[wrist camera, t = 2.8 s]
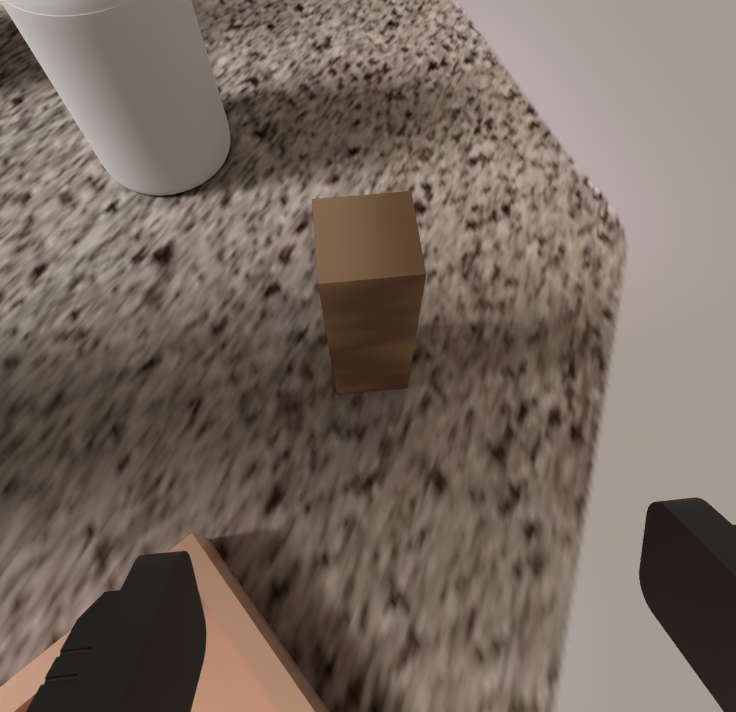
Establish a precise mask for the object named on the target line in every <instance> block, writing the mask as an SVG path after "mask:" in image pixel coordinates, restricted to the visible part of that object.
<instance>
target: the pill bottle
mask: <svg viewBox="0 0 736 712" xmlns="http://www.w3.org/2000/svg"><path fill="white" fill-rule="evenodd" d="M0 1H1V2H2V4H3V6H4V7H5V9H6V11H7V12H8V14H9V15H10V17H11V19H12V20H13V22H14V23H15V25H16V27H17V28H18V30H19V31H20V33H21V35H22V36H23V38H24V39H25V41H26V43H27V44H28V46H29V47H30V49H31V51H32V52H33V54H34V55H35V57H36V59H37V60H38V62H39V64H40V65H41V67H42V68H43V70H44V72H45V73H46V75H47V76H48V78H49V80H50V81H51V83H52V84H53V86H54V88H55V89H56V91H57V92H58V94H59V96H60V97H61V99H62V100H63V102H64V104H65V105H66V107H67V108H68V110H69V112H70V113H71V115H72V116H73V118H74V120H75V121H76V123H77V124H78V126H79V128H80V129H81V131H82V132H83V134H84V136H85V137H86V139H87V141H88V142H89V144H90V145H91V147H92V149H93V150H94V152H95V153H96V155H97V157H98V158H99V160H100V161H101V163H102V165H103V166H104V167H105V169H106V170H107V171H108V172H109V174H110V175H111V176H112V177H113V178H114V179H115V180H116V181H117V182H118V183H120V184H121V185H123V186H124V187H126V188H128V189H130V190H132V191H135V192H138V193H142V194H147V195H172V194H177V193H181V192H185V191H188V190H190V189H193V188H195V187H197V186H199V185H201V184H202V183H204V182H206V181H207V180H208V179H210V178H211V177H212V176H213V175H214V174H215V173H216V172H217V171H218V170H219V169H220V168H221V166H222V165H223V163H224V162H225V160H226V158H227V155H228V152H229V149H230V131H229V125H228V121H227V117H226V114H225V111H224V107H223V104H222V101H221V97H220V94H219V91H218V87H217V84H216V81H215V77H214V74H213V71H212V67H211V64H210V61H209V58H208V54H207V51H206V48H205V44H204V41H203V38H202V34H201V31H200V28H199V24H198V21H197V18H196V14H195V11H194V8H193V4H192V1H191V0H0Z"/></svg>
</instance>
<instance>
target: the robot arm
mask: <svg viewBox="0 0 736 712" xmlns="http://www.w3.org/2000/svg"><path fill="white" fill-rule="evenodd" d="M639 579H640V585H641V589H642V592H643V595H644V598H645V600H646V603H647V605H648V606H649V608H650V610H651V611H652V613H653V614H654V615H655V617H656V618H657V620H658V621H659V622H660V624H661V625H662V627H663V628H664V629H665V631H666V632H667V634H668V635H669V636H670V638H671V639H672V641H673V642H674V643H675V644H676V646H677V647H678V649H679V650H680V652H681V653H682V654H683V656H684V657H685V659H686V660H687V661H688V663H689V664H690V665H691V667H692V668H693V670H694V671H695V672H696V673H697V675H698V676H699V678H700V679H701V681H702V682H703V683H704V685H705V686H706V688H707V689H708V690H709V692H710V693H711V694H712V696H713V697H714V698H715V700H716V701H717V703H718V704H719V706H720V707H721V708H722V710H723V711H724V712H736V525H732V524H731V523H730V522H729V521H727V520H726V519H725V518H724V517H723V516H722V515H721V514H720V513H718V512H717V511H716V510H715V509H714V508H713V507H712V506H711V505H709V504H708V503H707V502H706V501H704V500H702V499H700V498H688V499H678V500H669V501H659V502H654V503H652V504H650V506H649V507H648V510H647V515H646V523H645V530H644V538H643V546H642V555H641V562H640V570H639ZM205 651H206V621H205V616H204V611H203V607H202V603H201V599H200V595H199V590H198V586H197V582H196V578H195V573H194V569H193V565H192V561H191V558H190V555H189V554H188V552H187V551H177V552H168V553H158V554H149V555H141V556H139V557H138V558H137V559H136V560H135V562H134V564H133V566H132V568H131V570H130V572H129V574H128V576H127V578H126V580H125V582H124V584H123V586H122V588H121V590H118V591H109V592H104V593H103V594H102V595H101V596H100V597H99V598H98V599H97V600H96V601H95V602H94V603H93V604H92V605H91V606H90V607H89V608H88V609H87V610H86V611H85V612H84V613H83V614H82V615H81V616H80V617H79V618H78V619H77V621H76V623H75V625H74V626H73V628H72V630H71V632H70V634H69V635H68V637H67V639H66V641H65V643H64V644H63V646H62V648H61V650H60V656H59V657H56V659H55V660H54V662H53V664H52V666H51V668H50V669H49V671H48V673H47V675H46V676H45V683H44V684H41V685H40V687H39V689H38V691H37V693H36V694H35V696H34V698H33V700H32V702H31V703H30V705H29V707H28V709H27V710H26V712H191V709H192V705H193V701H194V697H195V693H196V689H197V685H198V681H199V677H200V674H201V670H202V666H203V662H204V657H205Z"/></svg>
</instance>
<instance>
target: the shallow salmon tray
mask: <svg viewBox="0 0 736 712" xmlns="http://www.w3.org/2000/svg"><path fill="white" fill-rule="evenodd" d="M177 551H187V552H188V554H189V555H190V558H191V561H192V565H193V569H194V573H195V578H196V582H197V586H198V590H199V595H200V599H201V603H202V607H203V611H204V616H205V621H206V651H205V657H204V662H203V666H202V670H201V674H200V677H199V681H198V685H197V689H196V693H195V697H194V701H193V705H192V709H191V712H329V710H328V709H327V707H326V706H325V704H324V703H323V701H322V700H321V699H320V697H319V696H318V694H317V693H316V691H315V690H314V689H313V687H312V686H311V684H310V683H309V681H308V680H307V679H306V677H305V676H304V674H303V673H302V671H301V670H300V669H299V667H298V666H297V664H296V663H295V661H294V660H293V659H292V657H291V656H290V654H289V653H288V651H287V650H286V649H285V647H284V646H283V644H282V643H281V641H280V640H279V638H278V637H277V636H276V634H275V633H274V631H273V630H272V628H271V627H270V626H269V624H268V623H267V621H266V620H265V618H264V617H263V616H262V614H261V613H260V611H259V610H258V608H257V607H256V606H255V604H254V603H253V601H252V600H251V598H250V597H249V596H248V594H247V593H246V591H245V590H244V588H243V587H242V586H241V584H240V583H239V581H238V580H237V578H236V577H235V575H234V574H233V573H232V571H231V570H230V568H229V567H228V565H227V564H226V563H225V561H224V560H223V558H222V557H221V555H220V554H219V553H218V551H217V550H216V548H215V547H214V545H213V544H212V543H211V541H210V540H209V539H207V538H205V537H202V536H199V535H197V534H194V533H190V534H189V535H188V536H187V537H185V538H184V539H183V540H182V541H180V542H179V543H178V544H177V545H175V546H174V547H173V548H172V549H171V550H169V551H168V552H177ZM168 552H167V553H168ZM70 632H71V630H70V631H69V632H68V633H67V634H66V635H64V636H63V637H62V638H61V639H59V640H58V641H57V642H56V643H54V644H53V645H52V646H51V647H49V648H48V649H47V650H46V651H45V652H43V653H42V654H41V655H40V656H38V657H37V658H36V659H35V660H33V661H32V662H31V663H30V664H28V665H27V666H26V667H25V668H24V669H22V670H21V671H20V672H19V673H17V674H16V675H15V676H14V677H12V678H11V679H10V680H9V681H7V682H6V683H5V684H4V685H2V686H1V687H0V712H26V710H27V709H28V707H29V705H30V703H31V702H32V700H33V698H34V696H35V694H36V693H37V691H38V689H39V687H40V685H41V684H44V683H45V676H46V675H47V673H48V671H49V669H50V668H51V666H52V664H53V662H54V660H55V659H56V657H59V656H60V650H61V648H62V646H63V644H64V643H65V641H66V639H67V637H68V635H69V634H70Z"/></svg>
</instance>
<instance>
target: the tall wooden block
mask: <svg viewBox="0 0 736 712" xmlns="http://www.w3.org/2000/svg"><path fill="white" fill-rule="evenodd" d="M312 207H313V220H314V234H315V247H316V261H317V274H318V286H319V292H320V298H321V303H322V309H323V315H324V321H325V327H326V333H327V339H328V345H329V351H330V356H331V362H332V368H333V374H334V380H335V386H336V392H337V394H347V393H357V392H367V391H378V390H388V389H398V388H407V386H408V380H409V374H410V368H411V361H412V355H413V349H414V343H415V337H416V331H417V325H418V319H419V313H420V307H421V301H422V295H423V289H424V283H425V277H426V271H425V266H424V260H423V254H422V249H421V243H420V238H419V232H418V226H417V221H416V215H415V209H414V204H413V198H412V193H411V191H406V192H394V193H383V194H371V195H359V196H347V197H335V198H323V199H312Z"/></svg>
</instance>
